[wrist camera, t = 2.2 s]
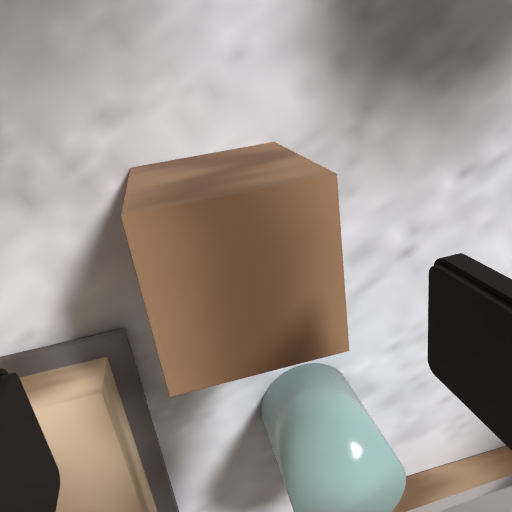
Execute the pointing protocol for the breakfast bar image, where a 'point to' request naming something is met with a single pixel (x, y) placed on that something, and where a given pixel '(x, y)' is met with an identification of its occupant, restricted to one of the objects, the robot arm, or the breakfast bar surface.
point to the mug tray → (455, 478)
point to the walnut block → (237, 262)
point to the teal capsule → (329, 444)
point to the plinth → (96, 424)
